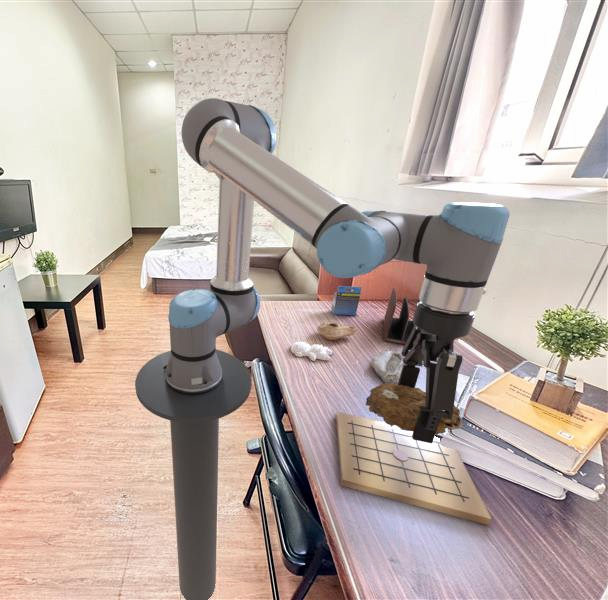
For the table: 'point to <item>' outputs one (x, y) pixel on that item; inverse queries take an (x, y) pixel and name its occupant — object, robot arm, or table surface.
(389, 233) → the robot arm
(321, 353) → the astronaut figurine
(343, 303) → the label tape box
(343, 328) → the pottery oil lamp
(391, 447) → the grid board
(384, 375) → the fossil
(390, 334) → the letter holder
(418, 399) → the decorative rock
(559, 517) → the table surface
